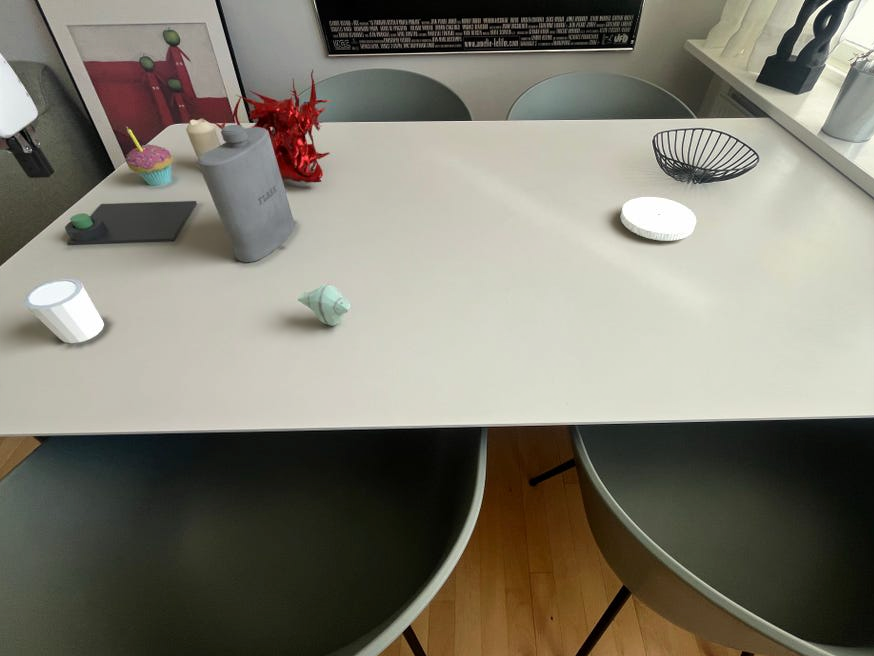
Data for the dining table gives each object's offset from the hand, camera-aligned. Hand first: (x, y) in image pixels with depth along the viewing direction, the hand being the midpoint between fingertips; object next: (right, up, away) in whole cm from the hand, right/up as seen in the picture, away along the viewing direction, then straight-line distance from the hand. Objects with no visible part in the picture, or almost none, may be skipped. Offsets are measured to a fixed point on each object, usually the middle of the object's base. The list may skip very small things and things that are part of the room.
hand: (42, 175), depth 76 cm
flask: (+31, -8, +12) cm, 34 cm away
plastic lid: (+104, -3, +19) cm, 106 cm away
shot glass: (+11, -25, -5) cm, 28 cm away
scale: (+4, -3, +15) cm, 16 cm away
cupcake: (0, +9, +28) cm, 29 cm away
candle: (+10, +14, +33) cm, 37 cm away
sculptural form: (+28, +15, +34) cm, 46 cm away
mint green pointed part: (+47, -24, -3) cm, 53 cm away
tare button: (-2, -5, +10) cm, 12 cm away
